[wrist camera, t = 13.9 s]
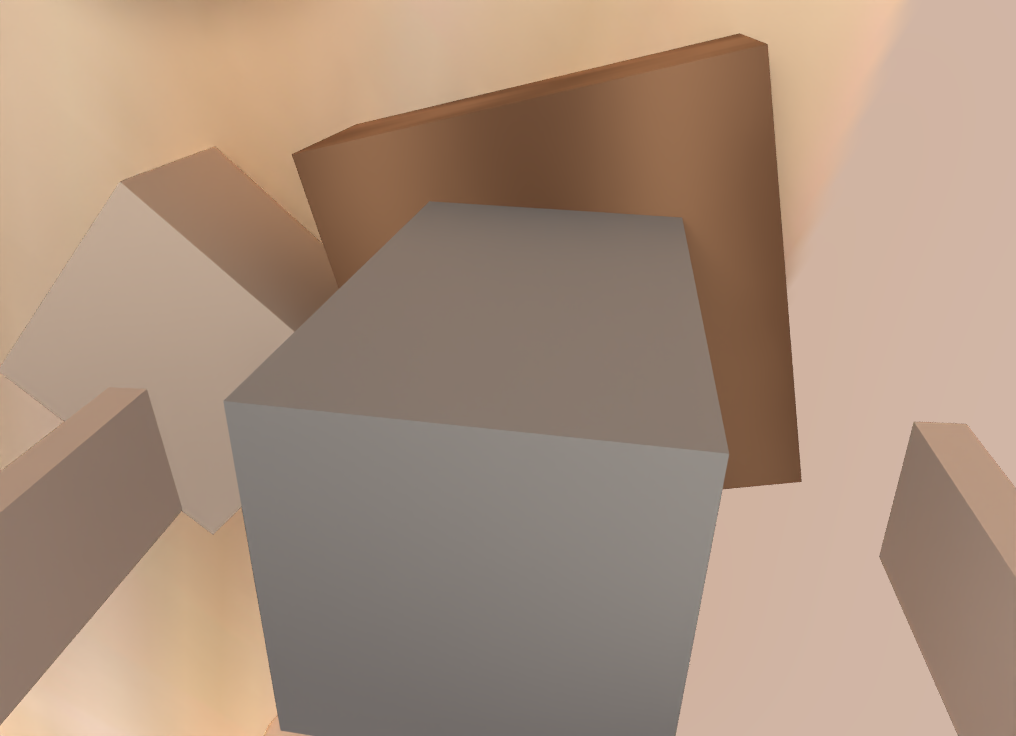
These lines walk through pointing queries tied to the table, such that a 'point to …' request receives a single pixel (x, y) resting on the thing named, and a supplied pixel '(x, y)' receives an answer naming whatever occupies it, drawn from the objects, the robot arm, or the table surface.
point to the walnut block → (609, 199)
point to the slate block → (487, 481)
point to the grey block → (176, 312)
